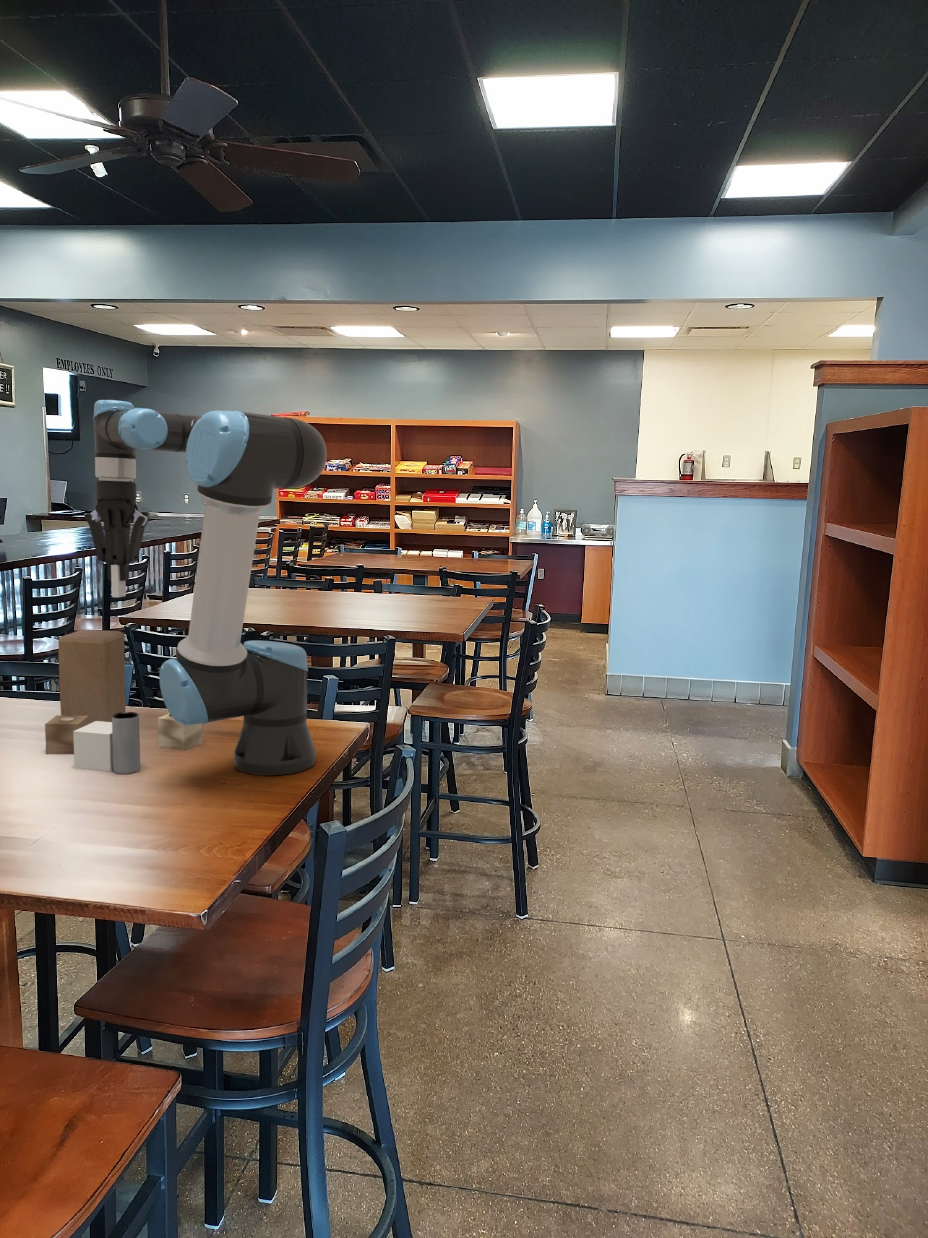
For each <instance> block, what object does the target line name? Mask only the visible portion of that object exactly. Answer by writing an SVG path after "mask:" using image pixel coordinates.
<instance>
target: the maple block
mask: <svg viewBox="0 0 928 1238" xmlns="http://www.w3.org/2000/svg"><path fill="white" fill-rule="evenodd" d="M202 743H203V724H194V725H183V724H180V723H178V722H177V721H176V720H175V719H174V718H173V717H172V716H171V714H170V713H168V714H165V715H162V716H159V717H157V747H158V748H163V749H169V750H176V751H181V752H184V751H187V750H188V749H191V748H194V747H195V746H197V745H200V744H202Z"/></svg>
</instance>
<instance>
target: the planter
mask: <svg viewBox="0 0 928 1238" xmlns="http://www.w3.org/2000/svg"><path fill="white" fill-rule="evenodd" d="M140 733H141V732H140V714H139V712H135V711H126V712H121V713H116V714H114V715H112V743H113V770H112V772H113V773H115V774H118V775H127V774H134V773H137V772H138V771H139V770H140V769H141V742H140V740H141V739H140V737H141V736H140Z"/></svg>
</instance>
